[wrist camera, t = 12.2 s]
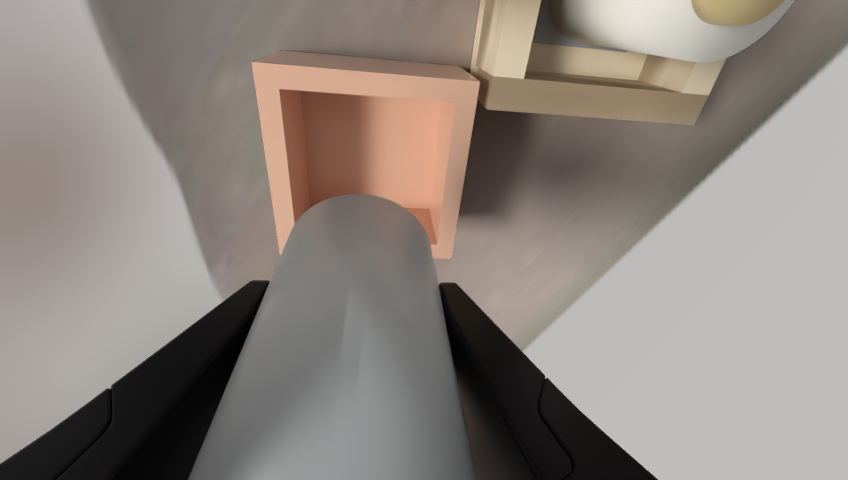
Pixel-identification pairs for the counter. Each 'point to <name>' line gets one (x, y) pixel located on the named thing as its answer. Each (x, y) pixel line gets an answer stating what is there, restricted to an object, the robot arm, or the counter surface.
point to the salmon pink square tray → (366, 135)
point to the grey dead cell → (345, 360)
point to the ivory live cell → (669, 25)
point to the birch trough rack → (578, 71)
